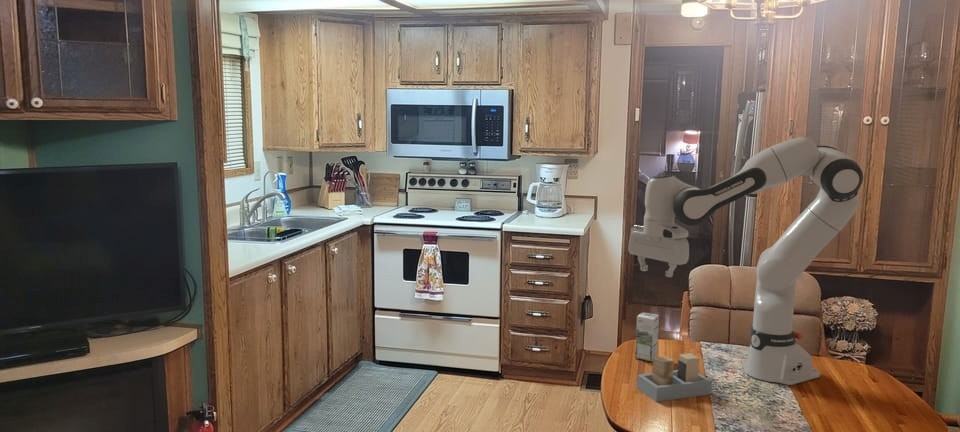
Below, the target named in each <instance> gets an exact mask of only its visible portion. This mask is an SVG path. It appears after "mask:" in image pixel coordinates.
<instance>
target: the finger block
mask: <svg viewBox="0 0 960 432" xmlns="http://www.w3.org/2000/svg"><path fill="white" fill-rule="evenodd" d="M674 365H675V361H674V359H672V358H670V357H667V356H665V355H661V356H658V357H656V358H653V361H652V372H651V373H652V382H653V383H655V384H656V385H658V386H661V385H669V384H672V383H673V370H674Z"/></svg>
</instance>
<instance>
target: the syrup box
mask: <svg viewBox="0 0 960 432" xmlns="http://www.w3.org/2000/svg"><path fill="white" fill-rule="evenodd" d="M659 320H660V315H659V314H656V313H655V314H654V313H650V312H649V313H648V312H640V313H639V314H638V315H637V316H636V333H635V353H634V354H635V355H634V358H635V359H636V360H637V359H638V360H642V361H646V362H652V363H653V358H656V357H657V356H658V340H659V339H658V337H659V325H660V324H659V323H660V322H659Z"/></svg>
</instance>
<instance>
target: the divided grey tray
mask: <svg viewBox="0 0 960 432" xmlns="http://www.w3.org/2000/svg"><path fill="white" fill-rule="evenodd" d="M699 365H700V357H698V356H697V355H695V354H694V353H691V352H689V353H682V354H681V353H679V354H678V361H677V369H673V383H672V384H669V385H661V386H658V385H656V384H655V383H653V382H652V372H650V373H642V374H637V381H636V383H637V384H636V389H638V390H639V391H640V392H642V393H643V394H644V395H646V396H647V397H648V398H650V399H652V401H655V402H658V403H659V402H665V401H671V400H679V399H680V400H681V399H686V398H687V399H688V398H693V397H701V396H709V395H712V387H713V385H712V382H713V381H712V380H711V379H709V378H707V377H706V376H705V375H702V374H701V373H699Z"/></svg>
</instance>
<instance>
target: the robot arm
mask: <svg viewBox="0 0 960 432" xmlns="http://www.w3.org/2000/svg"><path fill="white" fill-rule="evenodd" d="M804 176H805V177H809V178H810V180H812V182H813V183H814V184H815V185H816V186H818V187H819V191H818V193H817V196H816V197H815V199H814V200H813V201H812V202H811V203H810V204H808V206H807V207H805V209H804V210H803V211H802V212H801V213H800V214H799V215H797V217H796V218H795V219H794V220H793V222H792V223H791V224H790V225H789V226H788V227H787V229H786V230H785V231H784V232H783V233H782V234H781V236H780V237H779V238H778V239H777V240H776V242H775V243H774V244H773V245H772V246H771V247H768V248H766V249H765V250H763V251H762V253H761V254H760V256H759V257H758V261H757V265H756V268H755V274H756V284H755V285H756V286H755V293H754V295H755V296H754V305H753V317H752V318H753V319H752V326H751V327H750V336H749V339H750V345H749V350H748V355H747V358H746V360H745V361H746V362H745V364H744V368H743V371H744V373H745V374H746V375H748V376H750V377H752V378H754V379H757V380H761V381H765V382H772V383H778V384H783V385H786V386H793V385H797V384H799V383H803V382H807V381H810V380H813V379H817V378H821V373H820V371H818V370H817V369H816V368H814V367H813V358H812V355H810V353H809V352H807V351H806V350H805V349H804V348H803V347H802V346H800V345H799V344H798V343H797V341H796V339H798V340H803V337H804V334H803V333H801V332H799V331H795V332H794V330H793V321H794V308H795V297H796V295H795V294H796V286H797V283H796V282H797V280H798V278H799V277H800V276H801V275H802V274H803V273H804V272H805V270H806V269H807V268H808V267H809V266H810V264H811V263H812V262H813V261H814V260H815V258H816V257H817V256H818V255H819V254H820V252H821V251H822V250H824V248H825V247H826V246H827V245H828V244H829V243H830V242H831V241H832V240H833V239H834V238H835V237H836V235H838V234H839V233H840V232H841V230H842V229H844V227H846V225H847V224H848V223H849V221H850V220H851V219H852V217H853V216H854V215H855V213H856V211H857V210H858V209H859V207H860V198H859V196H858V192H859V190H860V189H861V187H862V185H863V180H864V173H863V169H862V168H861V166H860V165H859V164H858V162H856V161H855V160H853V159H852V157H850V156H849V155H848V154H846V153H844V152H841V151H839V150H838V149H837V148H835V147H833V146H829V145H816V143H815V142H814V141H813V140H812V139H810V138H809V137H805V136H799V137H795V138H791V139H788V140H785V141H781V142H778V143H776V144H774V145H772V146H770V147H767V148H765V149H763V150H761V151H759V152H757V153H756V154H754V155H753V156H751V157H749V159H747V160H746V162H745V163H744V165H743V167H742V168H741V169H740V170H739V171H738V172H736V174H734V175H732V176H730V177H729V178H727V179H725V180H722V181H720V182H718V183H716V184H714V185H712V186H709V187H708V188H704V189H700V188H699V187H697V186H694V185H691V184H688V183H686V182H683V181H682V180H680V179H678V177H676V176H675V175H674V174H659V175H656V176H655V175H654V176H652V177H651V178H650V179H649V180H648V181H647V183H646V185H645V193H644V207H645V212H644V215H643V225H639V224H635V225H633V226H632V227H631V228H630V236H629V240H628V247H627V248H628V249H627V251H628V252H629V254H630V255H633V256H637V261H638V263H639V265H640V267H639V268H640V271H641V272H648V269H649V268H648V267H649V265H648V264H647V263H646V261H645V260H646V258H648V259H652V260H657V261H661V262H664V263H668V267H669V268H668V270H665V271H664V272H665V274H664V275H665V276H664V277H667V278H672V277H674V272H675V270H676V268H677V266H678V265H679V266H680V265H685V264H687V263H688V262H689V258H690V244H689V241H688V239H687V238H688V237H689V230H688V229H686V228H684V227H682V226H680V225H679V224H678V223H676V222H675V218H676V219H677V220H678V221H679V222H680V223H682V224H684V225H686V226H694V227H695V226H699V225H701V224H703V223H705V222H706V221H707V220H708V219H709V218H710V217H711V216H712V215H713V214H714V212H716V211H717V210H718V209H721V208H722V207H725V206H726V205H728V204H731V203H733V202H736V201H737V200H739V199H741V198H744V197H746V196H748V195H751V194H754V193H757V192H762V191H765V190H769V189H772V188H775V187H778V186H781V185H783V184H787V183H788V182H790V181H792V180H794V179H797V178H800V177H804Z"/></svg>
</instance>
